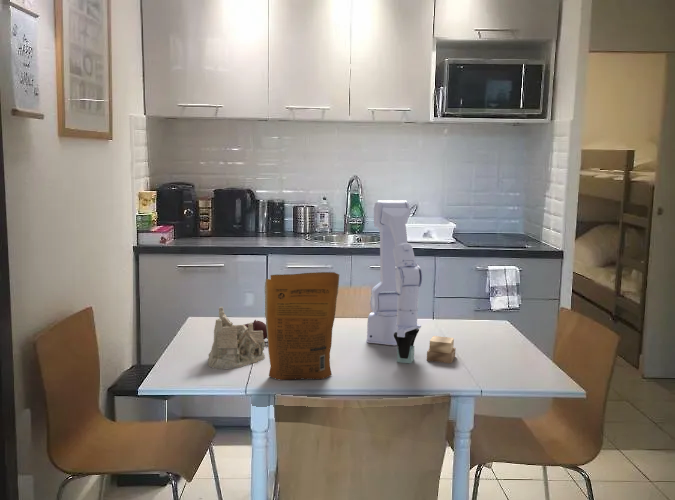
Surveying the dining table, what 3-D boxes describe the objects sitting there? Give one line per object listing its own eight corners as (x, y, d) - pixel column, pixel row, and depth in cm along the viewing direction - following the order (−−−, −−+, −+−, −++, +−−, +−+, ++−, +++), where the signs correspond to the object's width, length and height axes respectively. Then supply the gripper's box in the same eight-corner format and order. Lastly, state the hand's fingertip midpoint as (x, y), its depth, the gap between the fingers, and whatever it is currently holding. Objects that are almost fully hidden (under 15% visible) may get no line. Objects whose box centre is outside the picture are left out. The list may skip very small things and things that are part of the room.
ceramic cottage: (202, 368, 184) (206, 313, 182) (213, 352, 200) (216, 302, 199) (260, 372, 184) (264, 318, 183) (266, 357, 200) (270, 306, 199)
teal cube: (397, 361, 194) (397, 348, 193) (400, 357, 197) (400, 344, 197) (410, 363, 192) (411, 349, 192) (413, 359, 196) (414, 345, 195)
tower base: (426, 361, 196) (427, 351, 195) (431, 355, 202) (431, 345, 202) (451, 364, 193) (451, 354, 193) (455, 357, 200) (455, 347, 199)
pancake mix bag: (338, 381, 176) (341, 273, 172) (264, 382, 174) (264, 273, 170) (335, 373, 183) (337, 269, 179) (263, 374, 180) (264, 269, 176)
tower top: (429, 351, 195) (429, 341, 195) (432, 345, 201) (433, 335, 201) (450, 353, 194) (450, 343, 193) (453, 348, 199) (453, 338, 199)
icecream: (229, 324, 206) (279, 329, 206) (232, 312, 212) (281, 317, 213) (227, 344, 208) (277, 349, 209) (231, 332, 215) (279, 337, 216)
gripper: (415, 315, 185) (414, 364, 187) (426, 304, 198) (424, 350, 200) (390, 313, 187) (388, 361, 189) (402, 302, 200) (401, 347, 202)
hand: (405, 355), depth 195 cm, fingers closed on teal cube, 4 cm apart
